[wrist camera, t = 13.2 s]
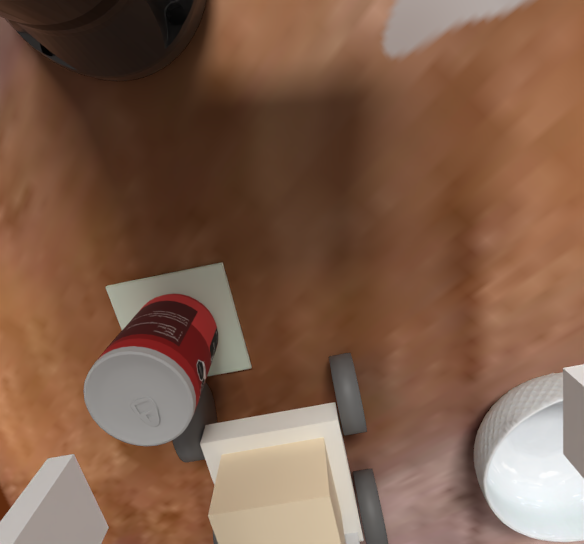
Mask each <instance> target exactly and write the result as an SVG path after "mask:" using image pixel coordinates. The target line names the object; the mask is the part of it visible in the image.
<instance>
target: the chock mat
mask: <svg viewBox="0 0 584 544" xmlns="http://www.w3.org/2000/svg"><path fill="white" fill-rule="evenodd" d="M105 288H106V290H107V293H108V295H109V298H110V301H111V303H112V306H113V308H114V311H115V314H116V316H117V319H118V322H119V324H120V327H121V329H122V330H123V329H124V328H125V327H126V326H127V324H128V323H129V322H130V321H131V320H132V319H133V317H134V316H135V315H136V314H137V313H138V312H139V311H140V309H141V308H142V307H143V306H144V305H145V304H146V303H147V302H149V301H150V300H152V299H154V298H156V297H159V296H162V295H166V294H183V295H186V296H190V297H192V298H194V299H196V300H198V301H199V302H200V303H202V304H203V305H204V306H205V307H206V308H207V309H208V310H209V311H210V313H211V314H212V316H213V318H214V320H215V323H216V326H217V331H218V345H217V349H216V352H215V355H214V358H213V361H212V364H211V366H210V369H209V372H208V375H207V376H213V375H218V374H223V373H229V372H234V371H240V370H245V369H250V368H251V367H252V366H251V362H250V358H249V355H248V351H247V348H246V344H245V340H244V337H243V333H242V330H241V326H240V323H239V319H238V315H237V312H236V308H235V305H234V301H233V297H232V294H231V290H230V287H229V283H228V280H227V276H226V272H225V269H224V265H223V262H221V263H216V264H211V265H206V266H201V267H196V268H191V269H186V270H181V271H177V272H172V273H167V274H162V275H157V276H152V277H147V278H142V279H137V280H132V281H128V282H123V283H118V284H113V285H108V286H106V287H105Z"/></svg>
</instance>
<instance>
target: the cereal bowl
mask: <svg viewBox="0 0 584 544" xmlns="http://www.w3.org/2000/svg"><path fill="white" fill-rule="evenodd" d="M474 467H475V470H476V475H477V478H478V482H479V485H480V488H481V490H482V492H483V495H484V498H485V499H486V501H487V503H488V505H489V507H490V508H491V510H492V511H493V512H494V514H495V515H496V516H497V517H498V518H499V519H500V520H501V521H502V522H503V523H504V524H505V525H506V526H508V527H509V528H511V529H513V530H514V531H516V532H518V533H520V534H523V535H525V536H528V537H531V538H535V539H539V540H544V541H552V542H574V541H583V540H584V478H583V477H582V476H581V475H580V474H579V472H578V471H577V470H576V469H575V468H574V466H573V465H572V464H571V463H570V462H569V460H568V459H567V458H566V457H565V456H564V454H563V372H562V373H552V374H549V375H545V376H541V377H537V378H535V379H531V380H528V381H527V382H525V383H522V384H520V385H518V386H517V387H515V388H513V389H512V390H509V391H508V393H506V394H504V395H503V396H502V397H501V398H500V399H499V400H498V401H497V402H496V403H495V404H494V405H493V406H492V407H491V408H490V410H489V411H488V412H487V414H486V415H485V417H484V419H483V421H482V423H481V424H480V427H479V429H478V430H477V435H476V439H475V443H474Z"/></svg>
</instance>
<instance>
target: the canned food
mask: <svg viewBox="0 0 584 544" xmlns="http://www.w3.org/2000/svg"><path fill="white" fill-rule="evenodd" d="M217 345H218V331H217V326H216V323H215V320H214V318H213V316H212V314H211V313H210V311H209V310H208V309H207V308H206V307H205V306H204V305H203V304H202V303H200V302H199V301H198V300H196V299H194V298H192V297H190V296H186V295H183V294H166V295H162V296H159V297H156V298H154V299H152V300H150V301H149V302H147V303H146V304H145V305H144V306H143V307H142V308H141V309H140V311H139V312H138V313H137V314H136V315H135V316H134V317H133V319H132V320H131V321H130V322H129V323H128V324H127V326H126V327H125V328H124V329H123V330H122V331H121V332H120V334H119V335H118V336H117V337H116V338H115V339H114V340H113V342H112V343H111V344H110V345H109V346H108V347H107V349H106V350H105V351H104V352H103V353H102V355H101V356H100V357H99V358H98V360H97V361H96V362H95V364H94V365H93V366H92V368H91V370H90V371H89V373H88V375H87V377H86V380H85V384H84V399H85V403H86V406H87V409H88V411H89V413H90V414H91V416H92V418H93V419H94V420H95V422H96V423H97V424H98V425H99V426H100V427H101V428H102V429H103V430H104V431H105V432H107V433H108V434H110V435H111V436H113V437H115V438H116V439H118V440H121V441H123V442H126V443H129V444H133V445H138V446H156V445H160V444H164V443H167V442H169V441H171V440H174V439H175V438H177V437H178V436H179V435H180V434H182V433H183V431H184V430H185V429H186V428H187V427H188V425H189V423H190V421H191V419H192V417H193V415H194V412H195V410H196V407H197V405H198V402H199V399H200V396H201V393H202V390H203V387H204V384H205V381H206V378H207V375H208V372H209V369H210V366H211V364H212V361H213V358H214V355H215V352H216V349H217Z"/></svg>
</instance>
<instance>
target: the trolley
mask: <svg viewBox="0 0 584 544" xmlns="http://www.w3.org/2000/svg"><path fill="white" fill-rule="evenodd" d="M329 361H330V367H331V373H332V379H333V384H334V389H335V395H336V400H337V405H338V410H339V415H340V419H341V424H342V429H343V433H344V436H345V435H351V434H356V433H362V432H367V428H366V422H365V417H364V411H363V406H362V401H361V396H360V391H359V387H358V382H357V378H356V373H355V369H354V364H353V360H352V356H351V353H345V354H340V355H334V356H329ZM172 441H173V445H174V448H175V450H176V453H177V455H178V456H179V458H180V459H181V460H182V461H183V462H193V461H198V460H204V459H205V460H206V463H207V466H208V468H209V471H210V474H211V477H212V480H213V483H214V491H213V495H212V500H211V505H210V509H209V514H208V517H209V520H210V523H211V525H212V528H213V541H214V544H360V541H364V539H363V533H362V527H361V522H360V516H359V512H358V507H357V502H356V497H355V493H354V488H353V483H352V478H351V474H350V469H349V464H348V459H347V455H346V450H345V445H344V441H343V436H342V431H341V426H340V422H339V417H338V412H337V407H336V403H335V402H333V403H328V404H322V405H316V406H311V407H305V408H299V409H294V410H288V411H282V412H277V413H271V414H265V415H260V416H254V417H248V418H243V419H237V420H231V421H226V422H220V423H217V415H216V408H215V403H214V399H213V396H212V393H211V390H210V388H209V386H208V385H207V383H206V382H205V384H204V387H203V390H202V393H201V396H200V399H199V402H198V405H197V407H196V410H195V412H194V415H193V417H192V419H191V421H190V423H189V425H188V427H187V428H186V429H185V430H184V431H183V433H182V434H180V435H179V436H178V437H177V438H175V439H174V440H172ZM353 475H354V481H355V487H356V492H357V497H358V503H359V508H360V513H361V519H362V524H363V529H364V534H365V539H366V543H367V544H388V540H387V534H386V529H385V524H384V519H383V515H382V510H381V505H380V500H379V496H378V491H377V487H376V483H375V478H374V474H373V470H372V469H366V470H359V471H353Z"/></svg>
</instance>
